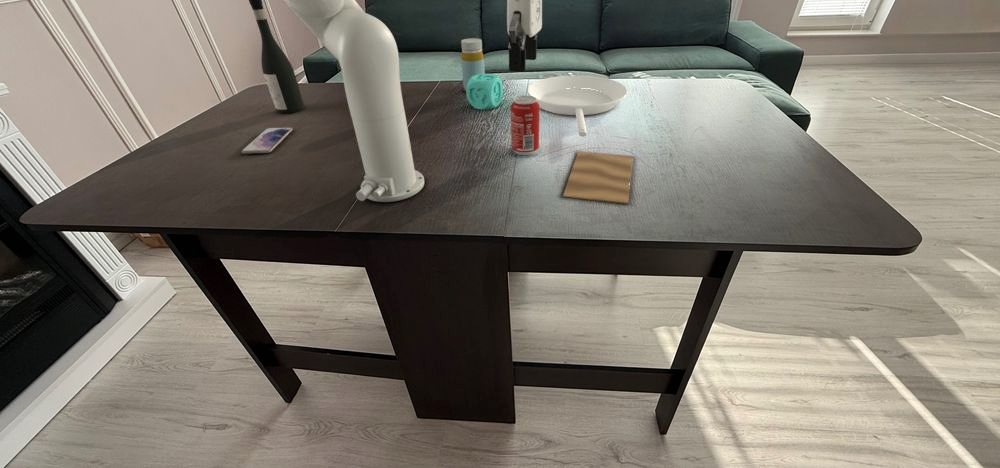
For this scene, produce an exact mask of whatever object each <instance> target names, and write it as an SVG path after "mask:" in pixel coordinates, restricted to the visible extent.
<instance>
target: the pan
mask: <svg viewBox="0 0 1000 468" xmlns="http://www.w3.org/2000/svg"><path fill="white" fill-rule="evenodd" d="M574 87H575V88H574ZM566 88H570V89H566ZM581 88H591V89H595V90H591V89H581ZM596 90H598V91H596ZM600 91H601V92H600ZM526 92H527V96H533V97H535V98H536V99H537V102H538V104H539V106H540V109H541V110H544V111H547V112H550V113H553V114H556V115H557V114H558V115H562V116H576V117H575V118H576V124H577V131H578V135H579V137H582V138H585V137H586V136H587V135H588V133H587V128H586V122H585V116H592V115H598V114H601V113H605V112H608V111H610V110H612V109H614V107H616V106H617V105H618V104H619V103H620V102H621V101H623V100H624V99H625V98H626V97H627V95H628V93H629V92H628V88H627V87H626V86H625V85H624V84H622V83H621V82H619V81H616V80H614V79H611V78H606V77H603V76H602V77H601V76H594V75H585V74H584V75H583V74H581V75H580V74H579V75H578V74H577V75H576V74H573V75H572V74H571V75H558V76H557V75H556V76H550V77H545V78H542V79H539V80H537V81H534V82H533V83H531V84H530V85H529V86H528V87H527V89H526Z"/></svg>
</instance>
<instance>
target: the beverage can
mask: <svg viewBox="0 0 1000 468" xmlns="http://www.w3.org/2000/svg"><path fill="white" fill-rule="evenodd" d="M540 109H541V108H540V106H539V104H538V102H537V99H536V98H535V97H533V96H529V95H519V96H516V97H514V98H513V102H512V103H511V105H510V137H511V138H510V141H511V143H510V145H511V150H513V151H514V152H515V154H518V155H520V156H530V155H533V154H535V153H536V152H537V150H538V149H539V148H540V114H541V113H540V111H541V110H540Z"/></svg>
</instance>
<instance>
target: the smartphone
mask: <svg viewBox="0 0 1000 468" xmlns="http://www.w3.org/2000/svg"><path fill="white" fill-rule="evenodd" d="M292 131H293V127H290V126H289V127H267V128H265V129H264V130H263V131H262V132H260V133H259V135H257V137H255V138H254V139H253V140H252V141H250V143H249V144H247V145H246V146H245V147H244V148H242V150H241V153H242V154H244V155H252V154H269V153H271V152H272V151H274V150H275V148H277V147H278V145H279V144H281V143H282V142H283V140H284V139H285V138H286V137H288V136H289V134H290V133H292Z"/></svg>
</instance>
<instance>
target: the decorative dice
mask: <svg viewBox="0 0 1000 468" xmlns="http://www.w3.org/2000/svg"><path fill="white" fill-rule="evenodd" d="M465 93H466V99H467V101H468V103H469V104H470V106H472V107H473V108H474V109H476V110H481V111H482V110H486V111H487V110H493V109H497V107H498V106H500V105H501V102H502V100H503V96H504V84H503V82H502V80H501V79H500V77H499V76H498V75H497V74H494V73H485V74H478V75H474V76H472V77H471V78H470V79H469V81H468V84H467V89H466V91H465Z"/></svg>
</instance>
